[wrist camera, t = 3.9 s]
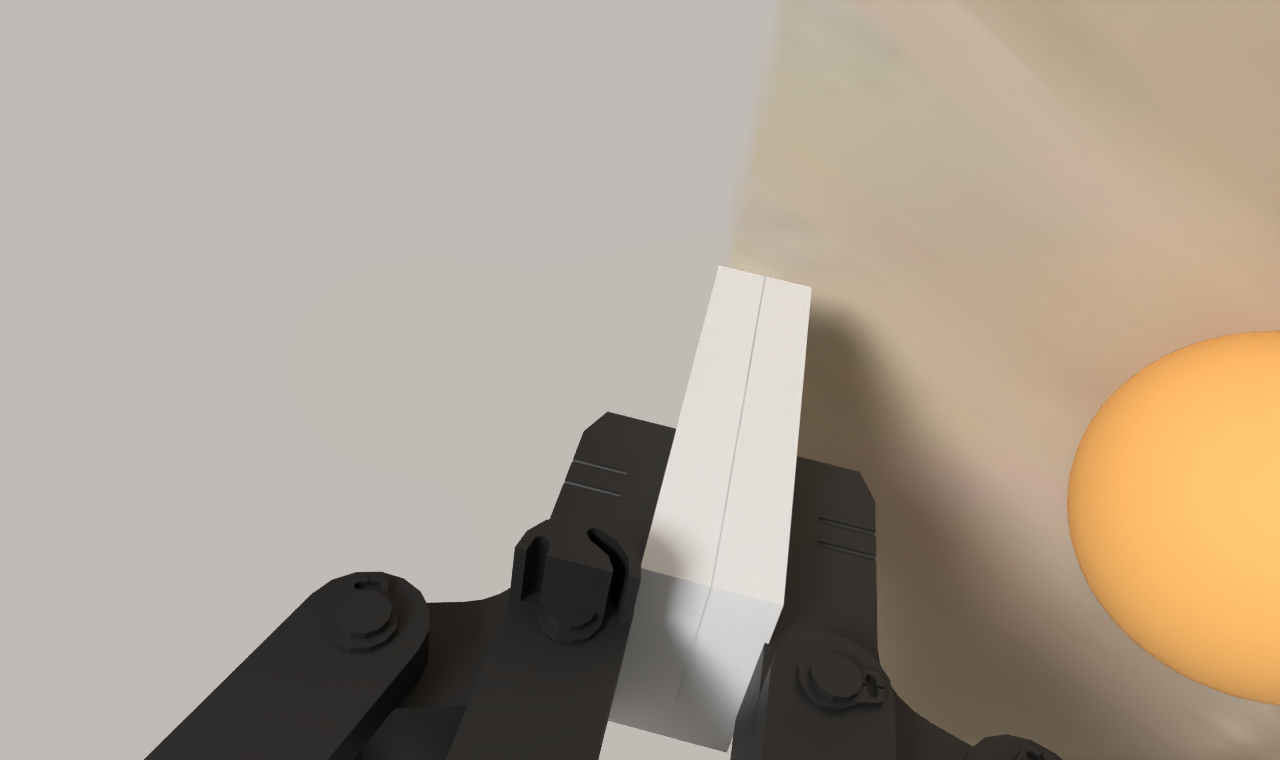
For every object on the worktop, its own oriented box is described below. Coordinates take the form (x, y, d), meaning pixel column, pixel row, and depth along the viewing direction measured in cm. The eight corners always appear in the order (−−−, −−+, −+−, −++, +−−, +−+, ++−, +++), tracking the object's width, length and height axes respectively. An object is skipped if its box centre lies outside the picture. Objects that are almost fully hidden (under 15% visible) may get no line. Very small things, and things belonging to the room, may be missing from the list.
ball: (1483, 310, 14) (1758, 572, 10) (1282, 551, 18) (1422, 827, 13) (1128, 230, 15) (1242, 449, 10) (995, 481, 18) (1039, 728, 14)
